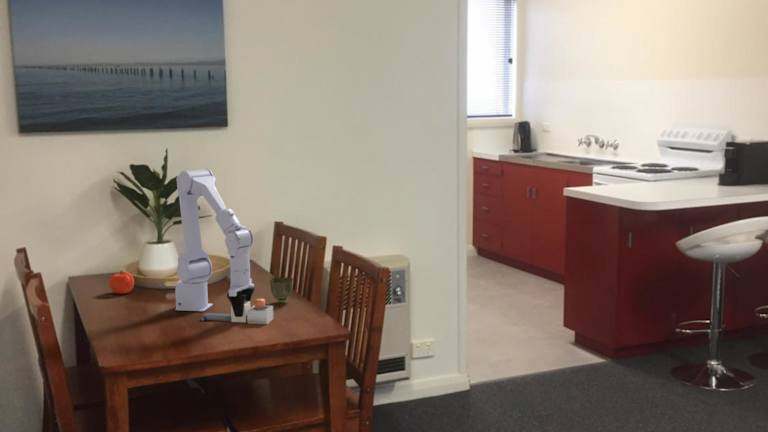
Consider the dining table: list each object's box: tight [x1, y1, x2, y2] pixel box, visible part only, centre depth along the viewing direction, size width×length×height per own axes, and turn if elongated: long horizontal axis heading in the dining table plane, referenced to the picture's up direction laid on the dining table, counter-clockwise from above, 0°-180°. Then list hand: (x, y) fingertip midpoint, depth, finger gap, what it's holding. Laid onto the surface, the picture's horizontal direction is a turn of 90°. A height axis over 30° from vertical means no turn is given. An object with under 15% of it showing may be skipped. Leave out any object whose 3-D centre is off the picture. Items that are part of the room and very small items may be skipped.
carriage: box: [230, 300, 251, 323], centre depth 239 cm, size 4×5×6 cm
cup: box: [269, 276, 294, 305], centre depth 258 cm, size 8×7×8 cm
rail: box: [200, 312, 248, 323], centre depth 240 cm, size 14×4×2 cm, turn 80°
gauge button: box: [254, 298, 266, 308], centre depth 238 cm, size 3×3×2 cm
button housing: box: [247, 304, 274, 325], centre depth 238 cm, size 6×6×4 cm
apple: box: [108, 270, 135, 295], centre depth 273 cm, size 8×8×8 cm
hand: (241, 314), depth 239 cm, fingers closed on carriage, 4 cm apart
